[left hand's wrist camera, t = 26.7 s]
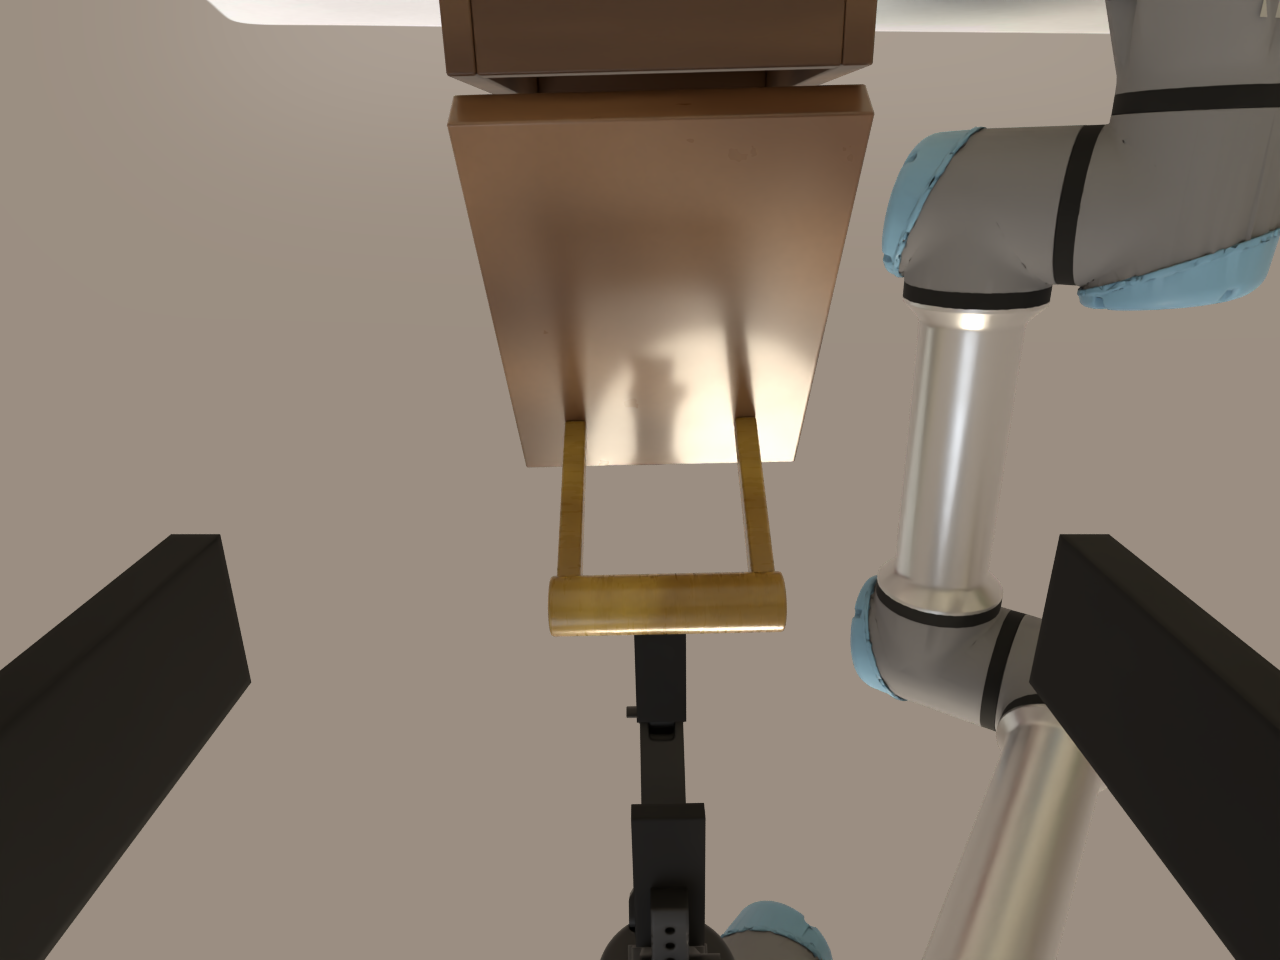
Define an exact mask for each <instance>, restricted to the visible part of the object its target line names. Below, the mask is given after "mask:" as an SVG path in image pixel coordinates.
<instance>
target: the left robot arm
mask: <svg viewBox="0 0 1280 960" xmlns="http://www.w3.org/2000/svg"><path fill="white" fill-rule="evenodd" d="M250 683H251V679H250V674H249V670H248V665H247V660H246V655H245V650H244V646H243V641H242V636H241V631H240V627H239V622H238V617H237V612H236V608H235V603H234V598H233V593H232V589H231V584H230V579H229V574H228V570H227V565H226V560H225V555H224V550H223V546H222V541H221V536H220V534H171V535H170V536H168V537H167V538H166V539H165V540H163V541H162V542H161V543H160V544H158V545H157V546H156V547H155V548H153V549H152V550H151V551H150V552H148V553H147V554H146V555H145V556H143V557H142V558H141V559H140V560H138V561H137V562H136V563H135V564H133V565H132V566H131V567H130V568H128V569H127V570H126V571H125V572H123V573H122V574H121V575H120V576H118V577H117V578H116V579H114V580H113V581H112V582H111V583H110V584H108V585H107V586H106V587H104V588H103V589H102V590H101V591H99V592H98V593H97V594H96V595H94V596H93V597H92V598H91V599H89V600H88V601H87V602H86V603H84V604H83V605H82V606H81V607H79V608H78V609H77V610H76V611H74V612H73V613H72V614H71V615H69V616H68V617H67V618H66V619H64V620H63V621H62V622H61V623H59V624H58V625H57V626H56V627H54V628H53V629H52V630H51V631H49V632H48V633H47V634H45V635H44V636H43V637H42V638H40V639H39V640H38V641H37V642H35V643H34V644H33V645H32V646H30V647H29V648H28V649H27V650H25V651H24V652H23V653H22V654H20V655H19V656H18V657H17V658H15V659H14V660H13V661H12V662H10V663H9V664H8V665H7V666H5V667H4V668H3V669H2V670H0V960H45V958H46V957H47V956H48V954H49V953H50V951H51V950H52V949H53V947H54V946H55V945H56V943H57V942H58V941H59V939H60V938H61V937H62V935H63V934H64V933H65V931H66V930H67V929H68V927H69V926H70V925H71V923H72V922H73V921H74V919H75V918H76V917H77V915H78V914H79V913H80V911H81V910H82V909H83V907H84V906H85V905H86V903H87V902H88V901H89V899H90V898H91V897H92V895H93V894H94V892H95V891H96V890H97V888H98V887H99V886H100V884H101V883H102V882H103V880H104V879H105V878H106V876H107V875H108V874H109V872H110V871H111V870H112V868H113V867H114V866H115V864H116V863H117V862H118V860H119V859H120V857H121V856H122V855H123V853H124V852H125V851H126V850H127V848H128V847H129V846H130V844H131V843H132V841H133V840H134V839H135V837H136V836H137V835H138V833H139V832H140V831H141V829H142V828H143V827H144V825H145V824H146V823H147V821H148V820H149V819H150V817H151V816H152V815H153V813H154V812H155V811H156V809H157V808H158V807H159V805H160V804H161V803H162V801H163V800H164V799H165V797H166V796H167V795H168V793H169V792H170V790H171V789H172V788H173V787H174V785H175V784H176V782H177V781H178V780H179V778H180V777H181V776H182V774H183V773H184V772H185V770H186V769H187V768H188V766H189V765H190V764H191V762H192V761H193V760H194V758H195V757H196V756H197V754H198V753H199V752H200V750H201V749H202V748H203V746H204V745H205V744H206V742H207V741H208V740H209V738H210V737H211V736H212V734H213V733H214V732H215V730H216V729H217V727H218V726H219V725H220V723H221V722H222V721H223V719H224V718H225V717H226V715H227V714H228V713H229V711H230V710H231V709H232V707H233V706H234V705H235V703H236V702H237V701H238V699H239V698H240V697H241V695H242V694H243V693H244V691H245V690H246V689H247V687H248V686H249V685H250ZM1029 683H1030V685H1031V686H1032V687H1033V689H1034V690H1035V691H1036V693H1037V694H1038V695H1039V697H1040V698H1041V699H1042V701H1043V702H1044V703H1045V705H1046V706H1047V707H1048V709H1049V710H1050V711H1051V713H1052V714H1053V715H1054V717H1055V718H1056V719H1057V721H1058V722H1059V723H1060V725H1061V726H1062V728H1063V729H1064V730H1065V732H1066V733H1067V734H1068V736H1069V737H1070V738H1071V740H1072V741H1073V742H1074V744H1075V745H1076V746H1077V748H1078V749H1079V750H1080V752H1081V753H1082V754H1083V756H1084V757H1085V758H1086V760H1087V761H1088V762H1089V764H1090V765H1091V766H1092V768H1093V769H1094V770H1095V772H1096V773H1097V774H1098V776H1099V777H1100V778H1101V780H1102V781H1103V782H1104V784H1105V785H1106V787H1107V788H1108V789H1109V791H1110V792H1111V793H1112V795H1113V796H1114V797H1115V799H1116V800H1117V801H1118V803H1119V804H1120V805H1121V807H1122V808H1123V809H1124V811H1125V812H1126V813H1127V815H1128V816H1129V817H1130V819H1131V820H1132V821H1133V823H1134V824H1135V825H1136V827H1137V828H1138V829H1139V831H1140V832H1141V833H1142V835H1143V836H1144V837H1145V839H1146V840H1147V842H1148V843H1149V844H1150V846H1151V847H1152V848H1153V850H1154V851H1155V852H1156V854H1157V855H1158V856H1159V858H1160V859H1161V860H1162V862H1163V863H1164V864H1165V866H1166V867H1167V868H1168V870H1169V871H1170V872H1171V874H1172V875H1173V876H1174V878H1175V879H1176V880H1177V882H1178V883H1179V884H1180V886H1181V887H1182V888H1183V890H1184V891H1185V892H1186V894H1187V895H1188V897H1189V898H1190V899H1191V901H1192V902H1193V903H1194V905H1195V906H1196V907H1197V909H1198V910H1199V911H1200V912H1201V914H1202V915H1203V917H1204V918H1205V919H1206V921H1207V922H1208V923H1209V925H1210V926H1211V927H1212V929H1213V930H1214V931H1215V933H1216V934H1217V935H1218V937H1219V938H1220V939H1221V941H1222V942H1223V943H1224V945H1225V946H1226V947H1227V949H1228V950H1229V951H1230V953H1231V954H1232V956H1233V957H1234V958H1235V960H1280V670H1278V669H1277V668H1276V667H1275V666H1273V665H1272V664H1271V663H1270V662H1268V661H1267V660H1266V659H1265V658H1263V657H1262V656H1261V655H1260V654H1258V653H1257V652H1256V651H1255V650H1253V649H1252V648H1251V647H1250V646H1248V645H1247V644H1246V643H1245V642H1243V641H1242V640H1241V639H1240V638H1238V637H1237V636H1236V635H1235V634H1233V633H1232V632H1231V631H1229V630H1228V629H1227V628H1226V627H1224V626H1223V625H1222V624H1221V623H1219V622H1218V621H1217V620H1216V619H1214V618H1213V617H1212V616H1211V615H1209V614H1208V613H1207V612H1206V611H1204V610H1203V609H1202V608H1201V607H1199V606H1198V605H1197V604H1196V603H1194V602H1193V601H1192V600H1191V599H1189V598H1188V597H1187V596H1186V595H1184V594H1183V593H1182V592H1181V591H1179V590H1178V589H1177V588H1176V587H1174V586H1173V585H1172V584H1171V583H1169V582H1168V581H1167V580H1166V579H1164V578H1163V577H1162V576H1160V575H1159V574H1158V573H1157V572H1155V571H1154V570H1153V569H1152V568H1150V567H1149V566H1148V565H1147V564H1145V563H1144V562H1143V561H1142V560H1140V559H1139V558H1138V557H1137V556H1135V555H1134V554H1133V553H1132V552H1130V551H1129V550H1128V549H1127V548H1125V547H1124V546H1123V545H1122V544H1120V543H1119V542H1118V541H1117V540H1115V539H1114V538H1113V537H1112V536H1110V535H1109V534H1060V536H1059V541H1058V546H1057V550H1056V555H1055V560H1054V565H1053V569H1052V574H1051V579H1050V584H1049V589H1048V593H1047V598H1046V603H1045V608H1044V612H1043V617H1042V622H1041V627H1040V631H1039V636H1038V641H1037V646H1036V650H1035V655H1034V660H1033V665H1032V669H1031V674H1030V679H1029Z"/></svg>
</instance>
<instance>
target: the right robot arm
mask: <svg viewBox="0 0 1280 960" xmlns="http://www.w3.org/2000/svg"><path fill="white" fill-rule="evenodd" d="M1105 2H1106V9H1107V15H1108V22H1109V28H1110V35H1111V41H1112V48H1113V55H1114V61H1115V68H1116V74H1117V85H1116V91H1115V97H1114V103H1113V109H1112V115H1111V119H1110V123H1109V124H1106V125H1075V126H1047V127H1018V128H989V129H987V128H985V127H975V128H973V129H971V130H962V131H951V132H940V133H935V134H932V135H930V136H928V137H926V138H925V139H923V140H922V141H921V142H920V143H919V144H918V145H917V146H916V147H915V148H914V149H913V150H912V152H911V153H910V154H909V156H908V158H907V159H906V161H905V163H904V165H903V167H902V168H901V170H900V172H899V175H898V177H897V180H896V182H895V185H894V187H893V190H892V194H891V197H890V200H889V204H888V208H887V212H886V217H885V222H884V229H883V237H882V251H883V253H884V258H883V261H884V265H885V268H886V269H887V271H889V272H890V273H892V274H894V275H895V276H897V277H904V290H903V301H904V302H905V303H906V305H907V306H908V307H909V308H910V309H911V310H912V311H913V312H914V314H915V315H916V316H917V318H918V320H919V325H918V334H917V344H916V354H915V364H914V374H913V384H912V394H911V404H910V414H909V424H908V434H907V445H906V454H905V464H904V474H903V484H902V494H901V504H900V514H899V524H898V534H897V544H896V554H895V557H894V558H892V559H890V560H889V561H887V562H886V563H884V564H883V565H882V566H881V567H880V569H879V570H878V574H877V575H876V576H873V577H871V578H869V579H868V580H867V581H866V583H865V584H864V586H863V587H862V589H861V591H860V593H859V596H858V599H857V601H856V605H855V617H854V618H853V619H852V625H851V653H852V660H853V664H854V667H855V669H856V671H857V674H858V675H859V677H860V678H861V679H862V680H863V681H864V682H865V683H867V684H868V685H869V686H871V687H873V688H875V689H878V690H880V691H883V692H885V693H888V694H889V695H890V696H892V697H893V698H895V699H898V700H902V701H907V700H909V701H912V702H915V703H917V704H920V705H923V706H926V707H929V708H931V709H934V710H937V711H940V712H943V713H945V714H948V715H951V716H954V717H956V718H959V719H962V720H965V721H968V722H971V723H973V724H976V725H979V726H981V727H985V728H988V729H991V730H993V731H996V738H997V743H998V746H999V749H1000V751H1001V754H1000V757H999V760H998V762H997V765H996V768H995V770H994V773H993V775H992V778H991V781H990V783H989V786H988V789H987V791H986V794H985V796H984V799H983V802H982V804H981V807H980V809H979V812H978V815H977V817H976V820H975V822H974V825H973V828H972V831H971V833H970V836H969V838H968V841H967V843H966V846H965V849H964V851H963V854H962V857H961V859H960V862H959V864H958V867H957V870H956V872H955V875H954V877H953V880H952V883H951V885H950V888H949V890H948V893H947V896H946V898H945V901H944V904H943V906H942V909H941V911H940V914H939V917H938V919H937V922H936V925H935V927H934V930H933V932H932V935H931V938H930V940H929V943H928V945H927V948H926V951H925V953H924V956H923V959H922V960H1056V958H1057V955H1058V950H1059V947H1060V943H1061V939H1062V935H1063V931H1064V927H1065V923H1066V919H1067V915H1068V911H1069V907H1070V903H1071V899H1072V895H1073V891H1074V887H1075V883H1076V879H1077V875H1078V871H1079V867H1080V863H1081V859H1082V855H1083V852H1084V848H1085V844H1086V839H1087V836H1088V832H1089V828H1090V824H1091V820H1092V816H1093V812H1094V808H1095V804H1096V800H1097V796H1098V792H1100V791H1103V790H1105V789H1106V788H1107V787H1106V785H1105V784H1104V782H1103V781H1102V780H1101V778H1100V777H1099V776H1098V774H1097V773H1096V772H1095V770H1094V769H1093V768H1092V766H1091V765H1090V764H1089V762H1088V761H1087V760H1086V758H1085V757H1084V756H1083V754H1082V753H1081V752H1080V750H1079V749H1078V748H1077V746H1076V745H1075V744H1074V742H1073V741H1072V740H1071V738H1070V737H1069V736H1068V734H1067V733H1066V732H1065V730H1064V729H1063V728H1062V726H1061V725H1060V723H1059V722H1058V721H1057V719H1056V718H1055V717H1054V715H1053V714H1052V713H1051V711H1050V710H1049V709H1048V707H1047V706H1046V705H1045V703H1044V702H1043V701H1042V699H1041V698H1040V697H1039V695H1038V694H1037V693H1036V691H1035V690H1034V689H1033V687H1032V686H1031V685H1030V683H1029V679H1030V674H1031V669H1032V665H1033V660H1034V655H1035V650H1036V646H1037V641H1038V636H1039V631H1040V627H1041V622H1042V619H1041V618H1037V617H1034V616H1031V615H1027V614H1024V613H1020V612H1016V611H1012V610H1010V609H1006V608H1003V607H1001V603H1002V596H1003V588H1002V585H1001V583H1000V582H999V580H998V579H997V578H996V577H995V576H994V575H993V574H992V573H991V572H990V571H989V564H990V558H991V551H992V545H993V538H994V531H995V525H996V518H997V512H998V505H999V498H1000V492H1001V485H1002V478H1003V472H1004V465H1005V459H1006V452H1007V446H1008V439H1009V432H1010V426H1011V419H1012V413H1013V406H1014V399H1015V393H1016V386H1017V380H1018V373H1019V367H1020V360H1021V353H1022V347H1023V340H1024V333H1025V327H1026V325H1027V323H1028V321H1030V320H1031V319H1032V318H1033V317H1035V316H1036V315H1037V314H1039V313H1040V312H1041V311H1043V310H1044V309H1045V308H1047V307H1048V305H1049V302H1050V297H1051V291H1052V285H1053V284H1063V285H1077V286H1080V288H1079V289H1078V292H1077V294H1078V296H1079V298H1080V303H1081V304H1082V305H1084V306H1086V307H1089V308H1093V309H1108V310H1160V309H1174V308H1186V307H1195V306H1203V305H1209V304H1215V303H1220V302H1225V301H1230V300H1233V299H1237V298H1240V297H1242V296H1245V295H1247V294H1249V293H1250V292H1252V291H1253V290H1255V289H1256V288H1257V287H1258V286H1259V285H1260V284H1261V283H1262V282H1263V281H1264V279H1265V278H1266V276H1267V273H1268V271H1269V267H1270V264H1271V261H1272V258H1273V255H1274V252H1275V249H1276V246H1277V243H1278V240H1279V237H1280V0H1105ZM634 642H635V675H636V706H629V707H627V718H637V722H638V723H640V748H641V804H632V805H631V828H632V856H633V886H634V888H633V890H632V891H631V893H630V898H629V924H628V925H627V926H625V927H624V928H623V929H621V930H620V931H619V932H618V933H617V934H616V935H615V936H614V937H613V939H612V940H611V941H610V942H609V944H608V945H607V947H606V949H605V951H604V953H603V955H602V957H601V960H832V955H831V951H830V949H829V946H828V944H827V942H826V940H825V939H824V937H823V936H822V934H821V933H820V931H819V930H818V929H817V928H816V927H812V926H809V924H807V923H806V922H805V920H804V916H803V915H802V914H801V913H799V912H798V911H796V910H795V909H793V908H791V907H789V906H787V905H785V904H782V903H778V902H774V901H759V902H755V903H752V904H750V905H748V906H747V907H746V908H744V909H743V910H742V911H741V913H740V914H739V915H738V917H737V918H736V919H735V920H734V921H733V923H732V924H731V925H730V926H729V928H728V929H727V930H726V931H725V933H724V934H722V935H721V936H719V935H718V934H717V933H716V932H715V931H714V930H713V929H712V928H710V927H709V926H707V925H706V924H705V809H704V803H686V797H685V767H684V738H683V722H685V721H686V634H652V635H634Z"/></svg>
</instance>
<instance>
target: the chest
mask: <svg viewBox="0 0 1280 960" xmlns="http://www.w3.org/2000/svg"><path fill="white" fill-rule="evenodd" d="M439 4H440V14H441V24H442V33H443V43H444V53H445V63H446V73H447V75H448V76H450V77H452V78H455V79H457V80H460V81H462V82H465V83H467V84H470V85H472V86H474V87H477V88H479V89H482V90H484V91H487V92H489V93H492V94H524V93H561V92H597V91H634V90H671V89H708V88H745V87H781V86H818V85H820V84H823V83H825V82H828V81H830V80H833V79H836V78H838V77H841V76H843V75H846V74H848V73H851V72H854V71H856V70H859V69H861V68H864V67H867V66H869V65H871V64H872V63H873V51H874V38H875V24H876V11H877V0H439Z"/></svg>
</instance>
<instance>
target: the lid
mask: <svg viewBox="0 0 1280 960" xmlns="http://www.w3.org/2000/svg"><path fill="white" fill-rule="evenodd" d="M873 117H874V111H873V108H872V104H871V101H870V98H869V95H868V92H867V89H866V86H865V85H864V84H856V85H818V86H781V87H745V88H708V89H671V90H634V91H597V92H561V93H524V94H487V95H455V96H454V97H453V101H452V105H451V110H450V114H449V119H448V124H447V127H448V131H449V135H450V140H451V144H452V148H453V152H454V157H455V161H456V165H457V170H458V174H459V178H460V182H461V187H462V191H463V195H464V200H465V204H466V208H467V213H468V217H469V221H470V226H471V230H472V234H473V238H474V243H475V247H476V251H477V256H478V260H479V264H480V268H481V273H482V277H483V281H484V286H485V290H486V294H487V299H488V303H489V307H490V312H491V316H492V320H493V324H494V329H495V333H496V337H497V342H498V346H499V350H500V355H501V359H502V363H503V367H504V372H505V376H506V380H507V385H508V389H509V393H510V398H511V402H512V406H513V411H514V415H515V419H516V423H517V428H518V432H519V436H520V441H521V445H522V449H523V453H524V458H525V462H526V466H527V467H563V469H562V489H561V509H560V528H559V547H558V566H557V576H553V577H551V580H550V583H549V593H548V618H549V628H550V632H551V635H552V636H603V635H652V634H700V633H750V632H782V631H783V630H784V628H785V625H786V616H787V602H786V589H785V583H784V579H783V576H782V573H781V572H779V571H775V569H774V561H773V553H772V545H771V536H770V529H769V520H768V512H767V504H766V496H765V487H764V479H763V471H762V463H761V462H792V461H795V457H796V452H797V448H798V444H799V439H800V435H801V431H802V426H803V422H804V418H805V413H806V409H807V405H808V400H809V396H810V391H811V387H812V383H813V378H814V374H815V370H816V365H817V361H818V357H819V352H820V348H821V344H822V339H823V335H824V330H825V326H826V322H827V317H828V313H829V309H830V304H831V300H832V296H833V291H834V287H835V283H836V278H837V274H838V269H839V265H840V261H841V256H842V252H843V248H844V243H845V239H846V235H847V230H848V226H849V222H850V217H851V212H852V208H853V204H854V200H855V195H856V191H857V187H858V182H859V178H860V174H861V169H862V165H863V160H864V156H865V152H866V148H867V143H868V139H869V135H870V130H871V126H872V121H873ZM703 463H738V473H739V483H740V493H741V503H742V513H743V523H744V533H745V543H746V553H747V563H748V572H719V573H673V574H672V573H671V574H624V575H582V574H583V543H584V511H585V480H586V466H615V465H659V464H703Z"/></svg>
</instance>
